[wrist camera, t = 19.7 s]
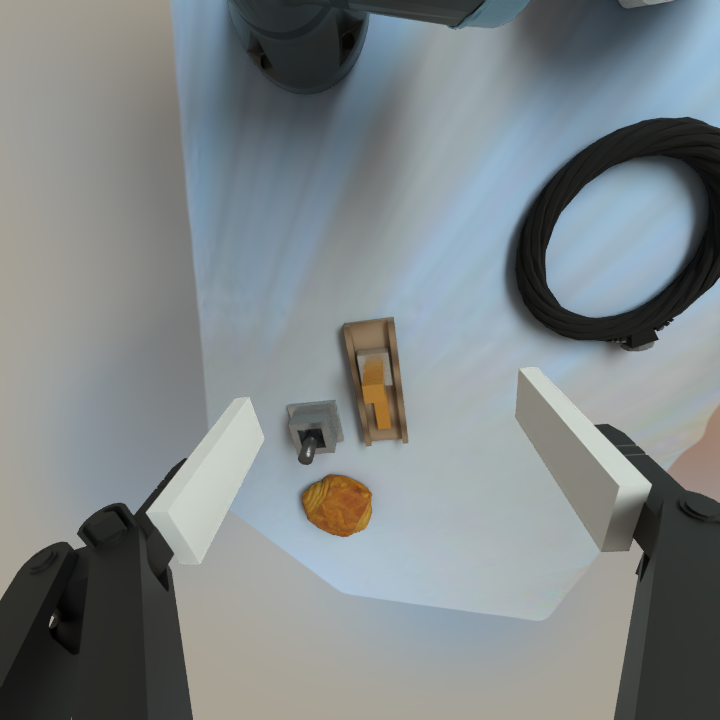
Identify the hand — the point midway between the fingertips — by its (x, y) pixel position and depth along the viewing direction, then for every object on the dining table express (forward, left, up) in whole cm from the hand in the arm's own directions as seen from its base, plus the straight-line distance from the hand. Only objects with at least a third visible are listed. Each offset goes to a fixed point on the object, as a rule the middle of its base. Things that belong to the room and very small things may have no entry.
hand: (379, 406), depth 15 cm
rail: (+19, -3, -35) cm, 40 cm away
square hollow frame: (+26, -16, -34) cm, 45 cm away
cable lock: (+2, +33, -35) cm, 48 cm away
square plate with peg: (+26, -16, -35) cm, 46 cm away
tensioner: (+20, -3, -34) cm, 39 cm away
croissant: (+47, -15, -35) cm, 60 cm away
